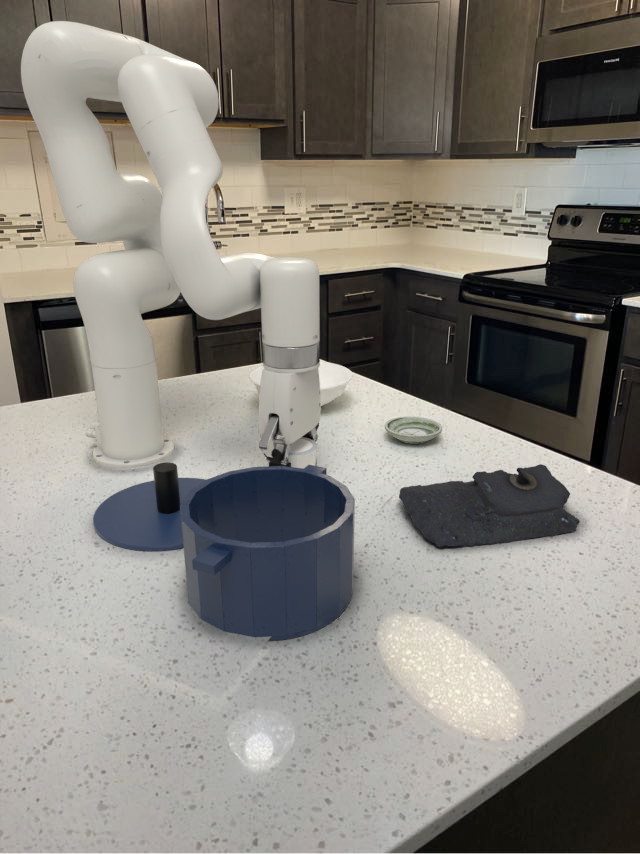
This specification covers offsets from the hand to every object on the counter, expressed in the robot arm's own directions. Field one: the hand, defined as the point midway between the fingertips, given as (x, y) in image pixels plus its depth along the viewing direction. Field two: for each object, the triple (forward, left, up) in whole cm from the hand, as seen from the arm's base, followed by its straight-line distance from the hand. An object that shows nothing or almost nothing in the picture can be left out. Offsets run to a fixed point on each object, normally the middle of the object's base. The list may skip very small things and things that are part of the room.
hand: (293, 476), depth 94 cm
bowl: (-16, +33, -2) cm, 37 cm away
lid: (-11, -14, -2) cm, 18 cm away
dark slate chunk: (+26, +5, -2) cm, 26 cm away
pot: (+9, -22, -2) cm, 24 cm away
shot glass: (0, 0, -2) cm, 2 cm away
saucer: (+9, +26, -2) cm, 28 cm away
